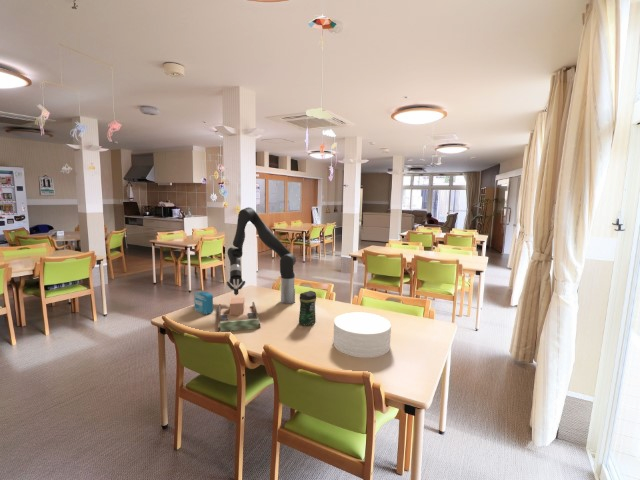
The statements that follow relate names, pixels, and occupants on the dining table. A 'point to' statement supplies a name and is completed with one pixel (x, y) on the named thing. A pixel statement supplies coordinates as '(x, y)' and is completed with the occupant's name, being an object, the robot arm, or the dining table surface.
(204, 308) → the data package
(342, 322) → the plate stack
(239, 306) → the terracotta block
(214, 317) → the dining table surface
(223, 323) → the lane rails
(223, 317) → the pads
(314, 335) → the dining table surface
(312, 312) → the coffee jar
